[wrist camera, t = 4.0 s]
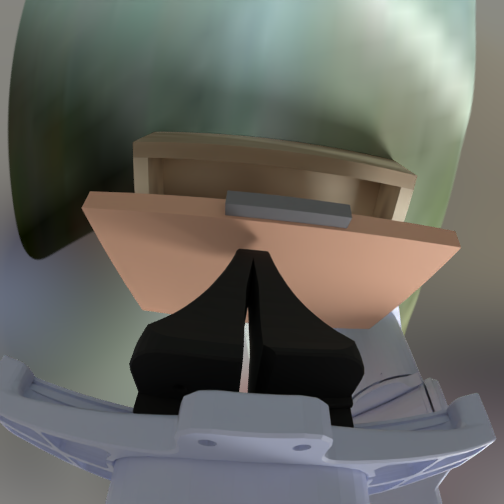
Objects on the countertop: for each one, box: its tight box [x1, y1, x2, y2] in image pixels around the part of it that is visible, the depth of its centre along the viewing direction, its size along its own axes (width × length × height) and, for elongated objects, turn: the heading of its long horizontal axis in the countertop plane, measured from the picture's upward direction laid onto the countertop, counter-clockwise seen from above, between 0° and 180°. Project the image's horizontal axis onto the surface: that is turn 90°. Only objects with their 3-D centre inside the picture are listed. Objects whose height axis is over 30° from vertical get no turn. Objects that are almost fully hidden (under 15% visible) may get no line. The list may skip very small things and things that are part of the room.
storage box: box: [133, 132, 417, 222], centre depth 21 cm, size 12×18×4 cm, turn 84°
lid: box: [82, 190, 461, 329], centre depth 17 cm, size 13×18×1 cm
